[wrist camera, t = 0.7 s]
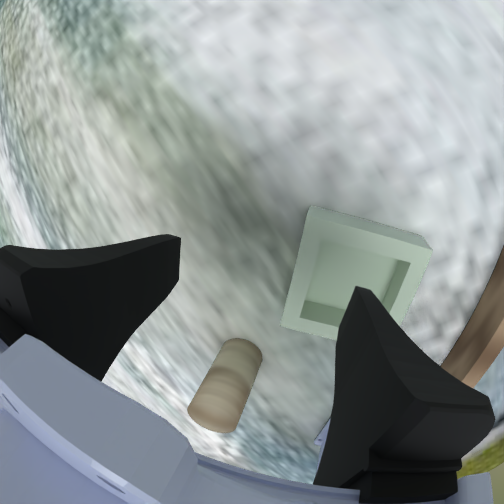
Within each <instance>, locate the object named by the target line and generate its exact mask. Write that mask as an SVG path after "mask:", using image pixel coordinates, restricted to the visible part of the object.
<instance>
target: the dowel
mask: <svg viewBox="0 0 504 504" xmlns="http://www.w3.org/2000/svg"><path fill="white" fill-rule="evenodd" d="M261 362H262V354H261V351H260V350H259V349H258V347H257V346H255V345H254V344H253V343H251V342H249V341H247V340H244V339H237V338H236V339H230V340H228V341H226V342H225V343H224V345H223V346H222V348H221V350H220V352H219V353H218V355H217V357H216V359H215V361H214V362H213V364H212V366H211V368H210V369H209V371H208V373H207V375H206V377H205V378H204V380H203V382H202V384H201V385H200V387H199V389H198V391H197V392H196V394H195V396H194V398H193V399H192V401H191V403H190V405H189V406H188V409H187V411H188V414H189V416H190V417H191V418H192V419H193V420H194V421H195V422H196V423H197V424H199V425H200V426H202V427H204V428H206V429H208V430H211V431H214V432H218V433H230V432H233V431H234V430H235V429H236V426H237V424H238V422H239V419H240V417H241V414H242V412H243V409H244V407H245V404H246V402H247V399H248V396H249V394H250V391H251V389H252V386H253V383H254V381H255V378H256V376H257V373H258V370H259V368H260V365H261Z"/></svg>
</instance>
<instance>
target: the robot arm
mask: <svg viewBox="0 0 504 504" xmlns="http://www.w3.org/2000/svg"><path fill="white" fill-rule="evenodd" d="M180 246H181V238H180V237H177V236H173V235H169V234H164V235H157V236H151V237H146V238H142V239H137V240H132V241H128V242H123V243H117V244H112V245H107V246H101V247H94V248H85V249H65V250H49V249H34V248H26V247H19V246H13V245H6V246H4V247H2V248H0V504H493V495H492V486H491V478H490V473H488V472H486V473H481V474H475V475H468V476H464V477H462V478H459V479H457V475H456V471H459V470H460V469H461V467H462V462H461V458H462V457H463V456H464V455H466V454H467V453H468V452H469V451H471V450H472V449H473V448H474V447H475V446H476V445H478V444H479V443H480V442H481V441H482V440H483V439H484V438H485V437H486V436H487V435H488V433H489V432H490V430H491V429H492V427H493V425H494V422H495V416H494V412H493V409H492V406H491V403H490V400H489V397H488V396H486V395H484V394H482V393H481V392H479V391H477V390H475V389H473V388H471V387H470V386H468V385H466V384H464V383H463V382H461V381H460V380H458V379H457V378H455V377H454V376H452V375H451V374H450V373H448V372H447V371H446V370H444V369H443V368H442V367H440V366H439V365H438V364H437V363H436V362H434V361H433V360H432V359H431V358H430V357H428V356H427V355H426V354H425V353H424V352H423V351H422V350H421V349H420V348H419V347H418V346H417V345H416V344H415V343H414V342H413V341H412V340H411V339H410V338H409V337H408V336H407V335H406V333H405V332H404V331H403V330H402V329H401V328H400V326H399V325H398V324H397V323H396V321H395V320H394V319H393V318H392V316H391V315H390V314H389V313H388V311H387V310H386V309H385V307H384V306H383V305H382V303H381V302H380V301H379V299H378V298H377V297H376V295H375V294H374V293H373V292H372V291H371V290H370V289H367V288H363V287H359V286H355V288H354V291H353V294H352V296H351V299H350V301H349V304H348V306H347V309H346V311H345V313H344V316H343V318H342V321H341V323H340V325H339V329H338V336H337V343H336V358H335V391H334V403H333V409H332V414H331V418H330V419H329V421H328V422H327V424H326V425H325V426H324V428H323V429H322V431H321V432H320V433H319V435H318V436H317V438H316V439H315V440H314V444H315V445H319V446H321V448H320V454H319V459H318V465H317V470H316V475H315V479H314V482H313V485H312V484H306V483H301V482H295V481H290V480H285V479H281V478H276V477H272V476H268V475H264V474H260V473H256V472H253V471H249V470H246V469H242V468H239V467H236V466H232V465H229V464H226V463H223V462H220V461H217V460H215V459H212V458H209V457H206V456H204V455H201V454H198V453H196V452H194V450H193V448H192V446H191V445H190V443H189V441H188V439H187V437H185V436H184V435H183V434H182V433H181V432H179V431H178V430H177V429H176V428H175V427H174V426H172V425H171V424H170V423H169V422H168V421H167V420H166V419H164V418H162V417H161V416H159V415H157V414H156V413H154V412H152V411H151V410H149V409H148V408H146V407H144V406H143V405H141V404H140V403H138V402H136V401H134V400H132V399H131V398H129V397H127V396H125V395H123V394H121V393H120V392H118V391H116V390H114V389H113V388H111V387H109V386H107V385H106V384H104V383H102V382H101V381H102V380H103V378H104V376H105V374H106V373H107V371H108V369H109V367H110V366H111V364H112V363H113V361H114V360H115V358H116V356H117V355H118V353H119V352H120V350H121V349H122V348H123V346H124V345H125V343H126V342H127V341H128V339H129V338H130V336H131V335H132V334H133V333H134V332H135V330H136V329H137V328H138V327H139V326H140V325H141V324H142V323H143V322H144V321H145V320H146V319H147V318H148V317H149V315H150V314H151V313H152V312H153V311H154V310H155V309H156V308H157V307H158V306H159V305H160V304H161V303H162V302H163V301H164V300H165V299H166V297H167V296H168V295H169V294H170V292H171V291H172V289H173V288H174V286H175V285H176V283H177V282H178V280H179V265H180Z"/></svg>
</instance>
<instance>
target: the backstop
mask: <svg viewBox="0 0 504 504" xmlns="http://www.w3.org/2000/svg"><path fill="white" fill-rule="evenodd" d="M503 347H504V247H503V249H502V252H501V254H500V257H499V259H498V262H497V264H496V267H495V269H494V271H493V274H492V276H491V278H490V280H489V283H488V285H487V287H486V289H485V291H484V293H483V295H482V297H481V299H480V301H479V303H478V305H477V307H476V309H475V311H474V313H473V315H472V316H471V318H470V320H469V322H468V324H467V325H466V327H465V329H464V330H463V332H462V334H461V335H460V337H459V339H458V340H457V342H456V344H455V345H454V347H453V348H452V350H451V351H450V353H449V355H448V356H447V358H446V359H445V361H444V362H443V363H442V365H441V366H440V367H442V368H443V369H444V370H446V371H447V372H448V373H450V374H451V375H452V376H454V377H455V378H457V379H458V380H460V381H461V382H463V383H464V384H466V385H468V386H470V387H471V388H474V386H475V385H476V384H477V383H478V381H479V380H480V379H481V378H482V376H483V375H484V374H485V372H486V371H487V370H488V368H489V367H490V365H491V364H492V363H493V361H494V360H495V358H496V357H497V356H498V354H499V353H500V351H501V350H502V348H503Z"/></svg>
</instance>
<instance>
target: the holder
mask: <svg viewBox="0 0 504 504" xmlns="http://www.w3.org/2000/svg"><path fill="white" fill-rule="evenodd" d="M432 252H433V250H432V248H431V247H430V246H429V245H428V243H427V242H426V241H425V239H424V238H423V237H422V236H420V235H417V234H414V233H410V232H407V231H404V230H400V229H397V228H394V227H390V226H387V225H383V224H380V223H376V222H373V221H369V220H365V219H362V218H358V217H354V216H351V215H347V214H343V213H339V212H335V211H331V210H327V209H323V208H319V207H315V206H311V205H310V207H309V210H308V213H307V216H306V221H305V225H304V230H303V234H302V238H301V243H300V247H299V251H298V255H297V260H296V264H295V268H294V272H293V276H292V280H291V284H290V288H289V292H288V296H287V300H286V304H285V307H284V311H283V315H282V319H281V323H280V326H282V327H285V328H289V329H293V330H297V331H301V332H304V333H308V334H312V335H316V336H320V337H324V338H328V339H333V340H337V336H338V329H339V325H340V323H341V321H342V318H343V316H344V313H345V311H346V309H347V306H348V304H349V301H350V299H351V296H352V294H353V291H354V288H355V286H359V287H363V288H367V289H370V290H371V291H372V292H373V293H374V294H375V295H376V297H377V298H378V299H379V301H380V302H381V303H382V305H383V306H384V307H385V309H386V310H387V311H388V313H389V314H390V315H391V316H392V318H393V319H394V320H395V321H396V323H397V324H398V325H399V326H400V324H401V322H402V320H403V318H404V316H405V314H406V312H407V310H408V308H409V306H410V304H411V302H412V300H413V297H414V295H415V293H416V291H417V288H418V286H419V284H420V282H421V279H422V277H423V274H424V272H425V270H426V267H427V265H428V262H429V260H430V257H431V254H432Z"/></svg>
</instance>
